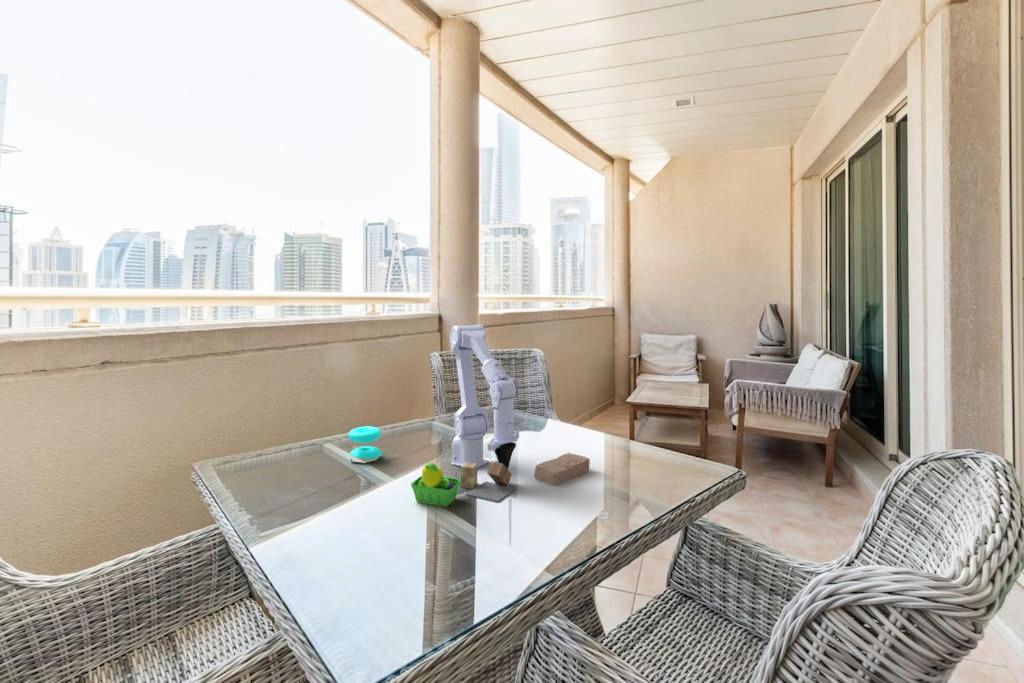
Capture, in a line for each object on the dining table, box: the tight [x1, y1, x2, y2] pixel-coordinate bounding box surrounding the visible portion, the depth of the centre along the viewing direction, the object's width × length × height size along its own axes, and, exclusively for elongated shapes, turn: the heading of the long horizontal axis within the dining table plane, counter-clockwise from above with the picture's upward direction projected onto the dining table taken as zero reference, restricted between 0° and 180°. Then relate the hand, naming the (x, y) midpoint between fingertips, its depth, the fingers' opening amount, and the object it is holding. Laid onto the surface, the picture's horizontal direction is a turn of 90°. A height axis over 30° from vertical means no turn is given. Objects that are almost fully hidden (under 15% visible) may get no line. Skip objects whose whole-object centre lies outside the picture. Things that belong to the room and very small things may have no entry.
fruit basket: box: [410, 462, 461, 507], centre depth 129 cm, size 11×9×11 cm
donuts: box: [348, 425, 382, 459], centre depth 162 cm, size 10×10×10 cm
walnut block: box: [487, 461, 513, 486], centre depth 139 cm, size 4×4×7 cm
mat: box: [465, 481, 517, 504], centre depth 136 cm, size 10×10×1 cm
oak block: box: [460, 462, 478, 490], centre depth 140 cm, size 4×4×6 cm
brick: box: [534, 452, 591, 487], centre depth 148 cm, size 17×8×5 cm, turn 133°
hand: (504, 468), depth 141 cm, fingers closed
